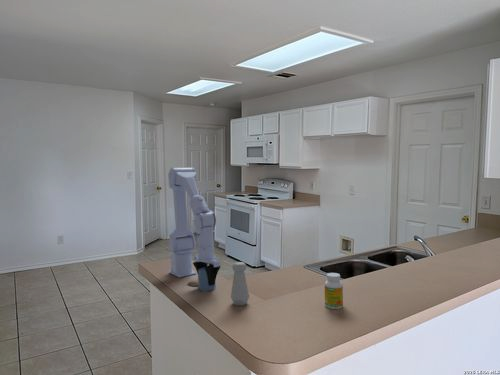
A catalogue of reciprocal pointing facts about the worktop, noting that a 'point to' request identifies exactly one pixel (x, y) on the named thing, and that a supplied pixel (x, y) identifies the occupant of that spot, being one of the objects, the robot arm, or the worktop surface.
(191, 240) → the robot arm
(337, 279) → the supplement bottle
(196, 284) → the disc
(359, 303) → the worktop surface
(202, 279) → the cup
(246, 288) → the salt shaker
